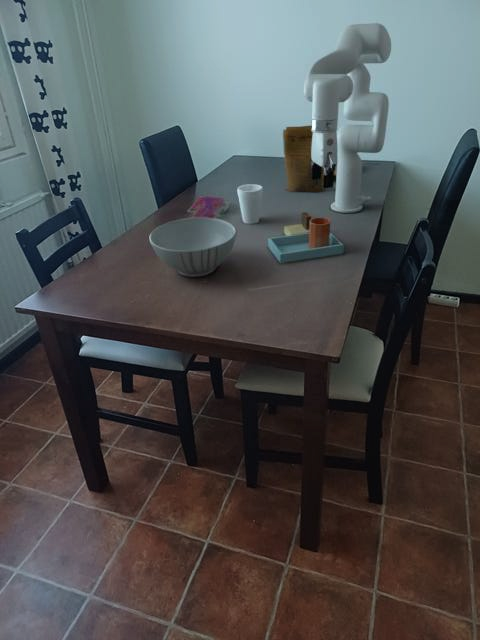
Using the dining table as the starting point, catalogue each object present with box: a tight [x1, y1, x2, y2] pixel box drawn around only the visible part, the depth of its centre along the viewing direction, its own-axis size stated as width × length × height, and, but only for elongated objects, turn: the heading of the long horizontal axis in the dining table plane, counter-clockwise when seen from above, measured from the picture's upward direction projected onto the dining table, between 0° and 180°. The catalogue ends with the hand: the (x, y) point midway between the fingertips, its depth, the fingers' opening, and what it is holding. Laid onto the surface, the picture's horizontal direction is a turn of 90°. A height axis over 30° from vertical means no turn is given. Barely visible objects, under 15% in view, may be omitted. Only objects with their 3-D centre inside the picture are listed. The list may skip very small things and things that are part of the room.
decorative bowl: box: [148, 216, 238, 278], centre depth 149 cm, size 27×27×12 cm
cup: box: [309, 216, 332, 249], centre depth 157 cm, size 7×7×10 cm
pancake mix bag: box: [282, 124, 324, 193], centre depth 205 cm, size 7×19×28 cm, turn 75°
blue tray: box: [267, 232, 345, 264], centre depth 159 cm, size 22×14×3 cm, turn 103°
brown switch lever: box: [300, 211, 312, 230], centre depth 168 cm, size 5×2×5 cm, turn 14°
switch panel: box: [283, 223, 309, 236], centre depth 170 cm, size 12×9×3 cm
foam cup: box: [236, 183, 264, 225], centre depth 182 cm, size 10×9×13 cm
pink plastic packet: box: [187, 196, 232, 219], centre depth 191 cm, size 30×15×5 cm, turn 167°
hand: (321, 183), depth 148 cm, fingers open, 9 cm apart
